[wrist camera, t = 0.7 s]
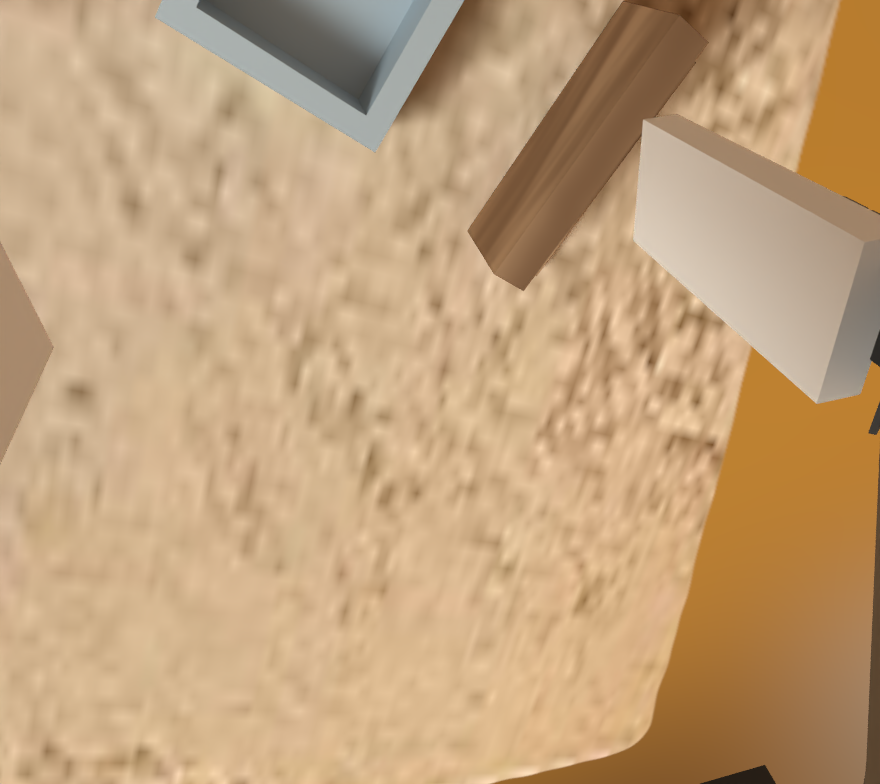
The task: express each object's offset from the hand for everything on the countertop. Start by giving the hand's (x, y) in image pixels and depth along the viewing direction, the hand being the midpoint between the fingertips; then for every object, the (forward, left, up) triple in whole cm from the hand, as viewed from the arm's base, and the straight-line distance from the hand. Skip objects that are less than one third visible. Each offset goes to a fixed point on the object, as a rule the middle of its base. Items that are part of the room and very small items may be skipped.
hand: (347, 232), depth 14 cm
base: (+15, +4, -23) cm, 28 cm away
